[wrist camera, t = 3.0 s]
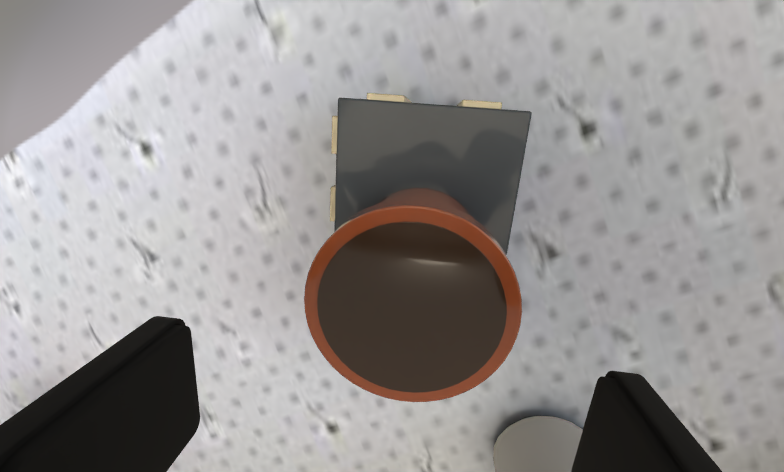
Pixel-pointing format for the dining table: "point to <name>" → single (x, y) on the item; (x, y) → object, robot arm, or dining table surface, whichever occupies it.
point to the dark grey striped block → (429, 155)
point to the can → (537, 445)
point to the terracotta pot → (413, 298)
